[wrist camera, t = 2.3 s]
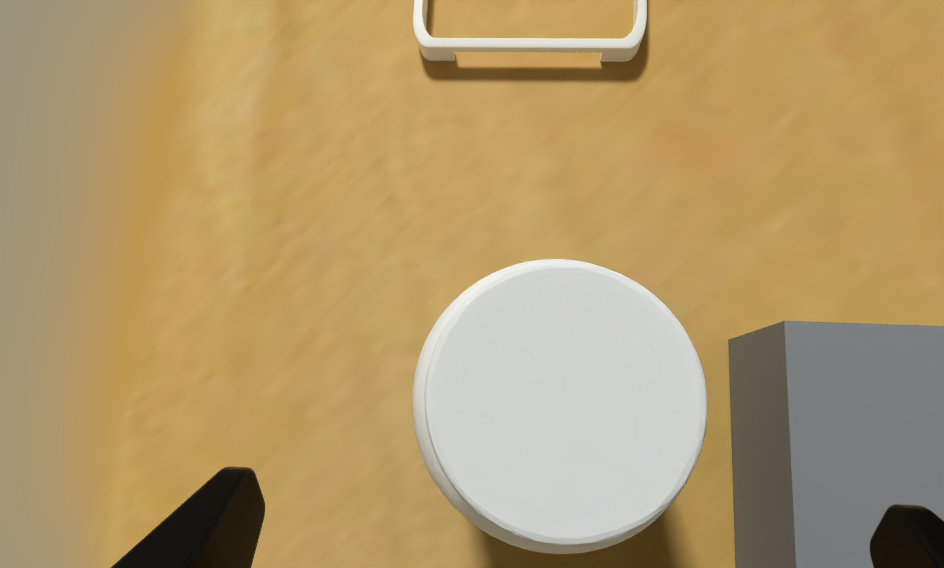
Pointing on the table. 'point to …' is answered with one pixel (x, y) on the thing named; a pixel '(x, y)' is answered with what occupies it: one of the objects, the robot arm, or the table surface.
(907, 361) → the slate block
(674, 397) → the pill bottle
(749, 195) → the table surface
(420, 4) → the phone case
